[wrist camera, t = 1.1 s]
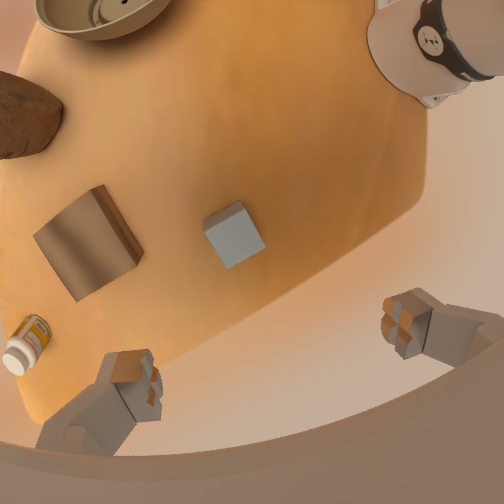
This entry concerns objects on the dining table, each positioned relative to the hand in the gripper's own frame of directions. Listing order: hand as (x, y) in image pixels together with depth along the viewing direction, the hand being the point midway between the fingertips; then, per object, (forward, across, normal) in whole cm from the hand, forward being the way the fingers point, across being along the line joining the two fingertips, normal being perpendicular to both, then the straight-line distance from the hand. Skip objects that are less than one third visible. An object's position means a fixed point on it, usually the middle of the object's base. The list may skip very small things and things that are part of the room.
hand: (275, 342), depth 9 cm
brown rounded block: (+28, +22, -17) cm, 40 cm away
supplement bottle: (+29, +32, +14) cm, 45 cm away
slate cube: (+28, -1, +3) cm, 28 cm away
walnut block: (+28, +17, +1) cm, 33 cm away
